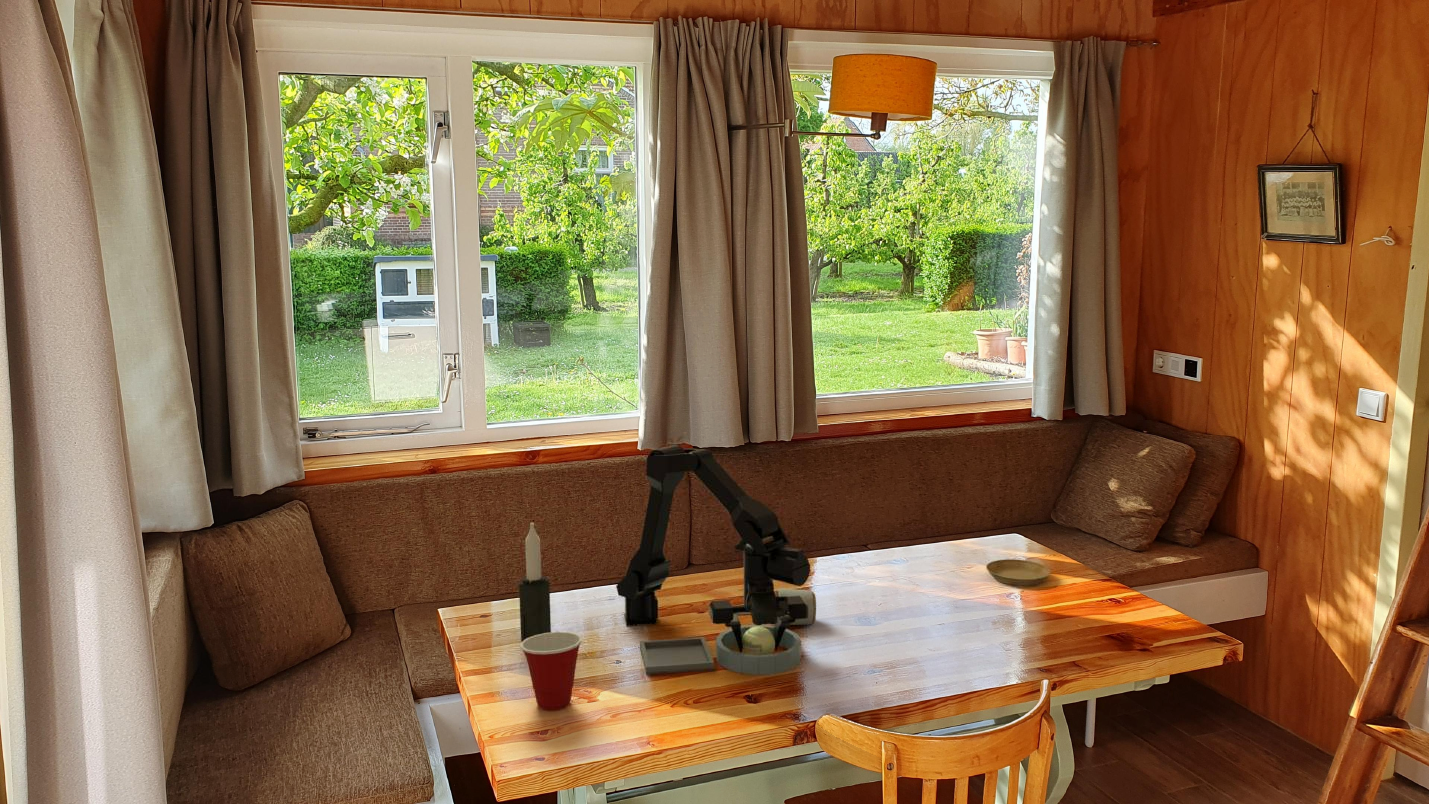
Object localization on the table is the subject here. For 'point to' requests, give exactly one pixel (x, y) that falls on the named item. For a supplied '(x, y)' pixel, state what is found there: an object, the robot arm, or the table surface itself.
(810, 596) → the ceramic mug
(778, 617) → the robot arm
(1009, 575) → the plant saucer
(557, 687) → the plastic cup
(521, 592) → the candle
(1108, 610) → the table surface
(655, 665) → the tray
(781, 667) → the gray open ring
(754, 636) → the tennis ball
